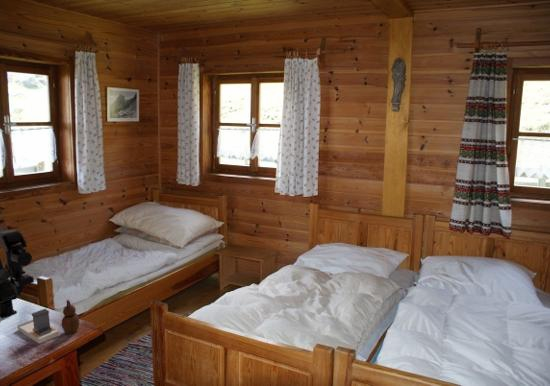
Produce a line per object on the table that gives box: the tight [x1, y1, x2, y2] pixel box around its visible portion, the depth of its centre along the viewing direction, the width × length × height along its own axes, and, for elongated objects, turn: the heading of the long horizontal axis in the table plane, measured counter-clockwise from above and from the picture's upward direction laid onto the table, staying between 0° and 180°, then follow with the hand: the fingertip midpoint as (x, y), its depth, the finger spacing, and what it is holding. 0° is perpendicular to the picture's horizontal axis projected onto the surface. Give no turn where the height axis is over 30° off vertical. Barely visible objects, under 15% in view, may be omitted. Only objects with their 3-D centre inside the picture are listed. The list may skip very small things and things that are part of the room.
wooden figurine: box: [61, 299, 80, 334], centre depth 193 cm, size 7×6×15 cm
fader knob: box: [31, 308, 52, 335], centre depth 189 cm, size 6×5×8 cm
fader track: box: [17, 319, 60, 344], centre depth 193 cm, size 18×8×2 cm, turn 53°
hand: (18, 295), depth 199 cm, fingers closed
